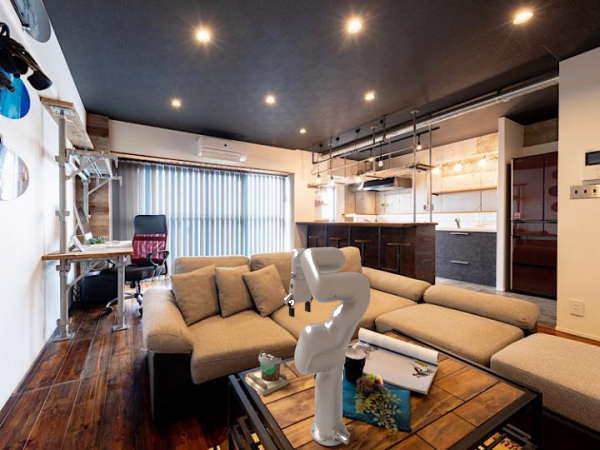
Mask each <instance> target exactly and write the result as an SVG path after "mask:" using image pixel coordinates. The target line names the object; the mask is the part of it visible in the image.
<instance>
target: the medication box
mask: <svg viewBox="0 0 600 450" xmlns="http://www.w3.org/2000/svg"><path fill="white" fill-rule="evenodd" d="M414 362H415V363H417V364H419V365H421V366H423V367H427V366H428V367H429V365H428V364H427V363H424V362H422V361H419V360H417V359H415V360H414Z"/></svg>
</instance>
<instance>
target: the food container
mask: <svg viewBox="0 0 600 450" xmlns="http://www.w3.org/2000/svg"><path fill="white" fill-rule="evenodd" d="M258 362H260V371H261V376H262V379H263V380H265V381H277V380H279V376H280V372H281V364H282V358H281V357H276V356H275V355H273V354H271V353H268V352H266V351H265V349H263V350H261V351H260V353H259V355H258Z"/></svg>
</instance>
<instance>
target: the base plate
mask: <svg viewBox="0 0 600 450" xmlns="http://www.w3.org/2000/svg"><path fill="white" fill-rule="evenodd" d="M244 380H245V381H244V382H245V383H246V384H247V385H249V386H250V387H251V388H252V389H254V390H255V391H256V392H257V393H258V394H259V395H261V396H262V397H264V396H266V395H268V394H270V393H272V392H274V391H276V390H278V389H280V388H282V387H284V386H287V385H288V384H290V378H289V377H287V375H286V374H285V373H284V372H282V371H280V376H279V380H277V381H265V380H263V379H262V376H261V370H259V371H256V372H254V373H253V372H248V373H247V376H245V377H244Z"/></svg>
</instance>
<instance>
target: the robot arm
mask: <svg viewBox="0 0 600 450" xmlns="http://www.w3.org/2000/svg"><path fill="white" fill-rule="evenodd" d="M346 262H347V261H346V255H345V253H344V252H343V250H341V249H340V248H338V247H334V246H329V247H328V246H325V247H324V246H322V247H309V248H303V247H301V248H300V247H296V248H293V249H292V250H291V265H290V266H291V274H290V275H289V277H290V282H289V289H288V295H287V296H285V297H284V299H283V301H284V304H285V305H286V306H287V307H288V316H289V317H291V318H295V316H296V315H295V312H296V311H295V309H296V308H295V306H296V304H301V303H304V311H305V312H307V313H311V311H312V310H311V306H312V305H311V304H312V303H313V299H314V300H315V301H316V302H317V303H321V304H323V303H336V302H339V304H337V305H336V306H335V307H334V308H333V309H332V311H331V313H330V315H329V318H328V320H325V321H321V322H314V323H309V324H306V325H304V326H303V328H302V329H301V331H300V334H299V336H298V341H297V344H296V347H295V350H294V359H293V360H294V366H295V368H296V370H297V372H298V373H299V374H301V375H303V376H304V375H305V376H307V375H312V374H316V376H315V380H314V420H313V421H312V422H311V424H310V428H309V430H310V431H309V433H310V435H311V437H312V439H313V440H314V442H315V441H316V442H317V443H318V444H320V445H322V446H326V447H327V446H328V447H333V446H337V445H340V444H345V445H349V443H350V437H351V432H349V431H348V429H347V427H346V422H345V421H343V384H344V383H343V382H344V381H343V369H344V364H345V363H346V357H347V356H346V350H345V349H347V347H348V346H349V343H350V342H351V339H352V337H353V335H354V333H355V330H357V329H356V328H357V326H358V325H359V323H360V322H361V320H362V319H363V317H364V316H365V314H366V312H367V310H368V308H369V306H370V302H371V286H370V281H369V280H368V278H367V277H366V276H365V275H364V274H363V273H361V272H356V271H340V270H342V269H343V268H344V267H345V264H346Z"/></svg>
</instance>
